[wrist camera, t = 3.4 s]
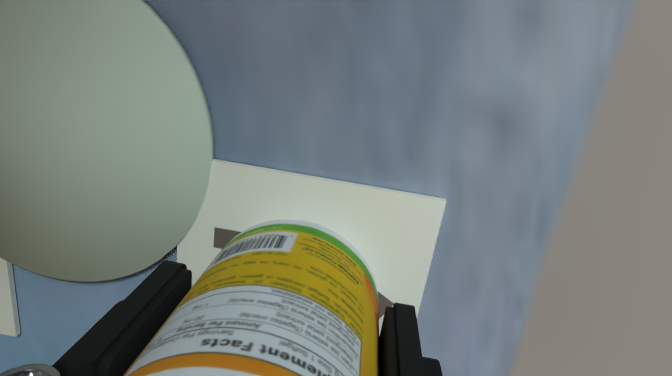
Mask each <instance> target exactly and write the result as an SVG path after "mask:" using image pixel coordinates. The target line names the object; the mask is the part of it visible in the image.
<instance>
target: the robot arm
mask: <svg viewBox="0 0 672 376" xmlns="http://www.w3.org/2000/svg"><path fill="white" fill-rule="evenodd" d="M191 288H192V272H191V270H188V269H187V267H186V265H185V264H183V263H178V262H172V261H167V260H166V261H163V262H162V263H161V264H160V265H159V266H158V267H157V268H156V269H155V270H154V271H153V272H152V273H151V274H150V275H149V276H148V277H147V278H146V279H145V280H144V281H143V282H142V283H141V284H140V285H139V286H138V287H137V288H136V289H135V290H134V291H133V292H132V293H131V294H130V295H129V296H128V297H127V298H126V299H125V300H124V301H120V302H118V303H117V304H116V305H115V306H114V307H113V308H111V309H110V310H109V311H108V312H107V313H106V314H105V315H104V316H103V317H102V318H101V319H100V320H99V321H98V322H97V323H96V324H95V325H94V326H93V327H92V328H91V329H90V330H89V331H88V332H87V333H86V334H85V335H84V336H83V337H82V338H81V339H80V340H79V341H77V342H76V343H75V344H74V345H73V346H72V347H71V348H70V349H69V350H68V351H67V352H66V353H65V354H64V355H63V356H62V357H61V358H60V359H59V360H58V361H57V362H56V363H55V364H54V365H53V366H52V367H51V366H48V365H46V364H30V365H23V366H19V367H16V368H13V369H9V370H7V371H5V372H3V373H1V374H0V376H123V375H124V374H125V373H126V371H127V370H128V369H129V367H130V366H131V365H132V364H133V362H134V361H135V360H136V359H137V357H138V356H139V355H140V353H141V352H142V351H143V350H144V348H145V347H146V346H147V344H148V343H149V342H150V341H151V339H152V338H153V337H154V336H155V334H156V333H157V332H158V330H159V329H160V328H161V327H162V325H163V324H164V323H165V321H166V320H167V319H168V318H169V316H170V315H171V314H172V312H173V311H174V310H175V309H176V307H177V306H178V305H179V303H180V302H181V301H182V300H183V298H184V297H185V296H186V295H187V293H188V292H189V291H190V289H191ZM379 376H442V371H441V366H440V363H439V361H438V360H436V359H431V358H426V357H422V353H421V346H420V339H419V332H418V325H417V318H416V311H415V306H412V305H407V304H402V303H396V302H395V303H394V305H393V307H389V306H387V307H386V309H385V314H384V318H383V323H382V327H381V332H380V336H379Z"/></svg>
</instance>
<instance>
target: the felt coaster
mask: <svg viewBox="0 0 672 376" xmlns="http://www.w3.org/2000/svg"><path fill="white" fill-rule="evenodd" d="M214 159H215V151H214V132H213V125H212V118H211V113H210V109H209V105H208V102H207V98H206V94H205V91H204V89H203V86H202V84H201V81H200V79H199V76H198V74H197V71H196V69H195V67H194V66H193V64H192V62H191V60H190V58H189V56H188V54H187V53H186V51H185V49H184V47H183V46H182V44H181V43H180V42H179V40H178V39H177V37H176V36H175V34H174V33H173V32H172V30H171V29H170V27H169V26H168V25H167V24H166V23H165V22H164V20H163V19H162V18H161V17H160V16H159V15H158V14H157V12H156V11H155V10H154V9H153V8H152V7H151V6H150V5H149V4H148V3H146V2H145V1H144V0H0V257H1V258H2V259H4V260H6V261H8V262H10V263H12V264H14V265H16V266H19V267H21V268H23V269H26V270H29V271H31V272H34V273H37V274H40V275H44V276H48V277H52V278H56V279H61V280H69V281H78V282H96V281H105V280H113V279H117V278H121V277H124V276H128V275H131V274H133V273H136V272H138V271H141V270H143V269H145V268H147V267H149V266H150V265H152V264H154V263H155V262H157V261H159V260H160V259H161V258H163V257H164V256H165V255H166V254H167V253H168V252H170V251H171V250H172V249H173V248H174V247H175V246H176V245H177V244H178V243H179V242H180V241H181V239H182V238H183V237H184V236H185V235H186V234H187V233H188V231H189V229H190V228H191V226H192V225H193V223H194V221H195V220H196V218H197V216H198V214H199V212H200V209H201V207H202V205H203V203H204V200H205V197H206V193H207V189H208V185H209V182H210V174H211V166H212V160H214Z"/></svg>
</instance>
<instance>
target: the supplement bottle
mask: <svg viewBox="0 0 672 376" xmlns="http://www.w3.org/2000/svg"><path fill="white" fill-rule="evenodd" d="M123 376H379V305H378V293H377V287H376V283H375V279H374V276H373V274H372V272H371V270H370V267H369V266H368V264H367V262H366V261H365V259H364V258H363V256H362V255H361V254H360V252H359V251H358V250H357V249H356V248H355V247H354V246H353V245H352V244H351V243H350V242H348V241H347V240H346V239H345V238H343V237H342V236H340V235H339V234H337V233H336V232H334V231H332V230H330V229H328V228H326V227H324V226H321V225H319V224H315V223H312V222H307V221H302V220H291V219H283V220H272V221H267V222H263V223H260V224H257V225H255V226H252V227H250V228H248V229H246V230H244V231H243V232H241V233H240V234H238V235H237V236H235V237H234V238H233V239H232V240H231V241H230V242H229V243H228V244H227V245H226V246H225V247H224V248H223V249H222V250H221V251H220V252H219V254H218V255H217V256H216V257H215V258H214V260H213V261H212V262H211V264H210V265H209V266H208V267H207V269H206V270H205V271H204V272H203V274H202V275H201V276H200V278H199V279H198V280H197V282H196V283H195V284H194V285H193V287H192V288H191V289H190V291H189V292H188V293H187V295H186V296H185V297H184V298H183V300H182V301H181V302H180V303H179V305H178V306H177V307H176V309H175V310H174V311H173V312H172V314H171V315H170V316H169V318H168V319H167V320H166V321H165V323H164V324H163V325H162V327H161V328H160V329H159V330H158V332H157V333H156V334H155V336H154V337H153V338H152V339H151V341H150V342H149V343H148V344H147V346H146V347H145V348H144V350H143V351H142V352H141V353H140V355H139V356H138V357H137V359H136V360H135V361H134V362H133V364H132V365H131V366H130V367H129V369H128V370H127V371H126V373H125V374H124V375H123Z"/></svg>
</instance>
